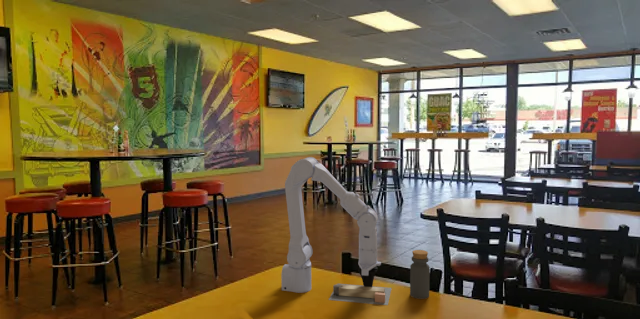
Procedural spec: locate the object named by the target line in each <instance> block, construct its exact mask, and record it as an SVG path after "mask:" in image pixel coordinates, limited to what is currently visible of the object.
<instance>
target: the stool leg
mask: <svg viewBox="0 0 640 319" xmlns="http://www.w3.org/2000/svg"><path fill="white" fill-rule="evenodd" d="M340 284H341V283H336V284H333V288H332V289H333V290H332V293H333V294H334V295H340V296H352V297H363V298H375V292H378V293H385V288H378V287H379V286H374V287H366V286H364V285H362V286H353V285H354V284H350V285H340Z"/></svg>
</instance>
